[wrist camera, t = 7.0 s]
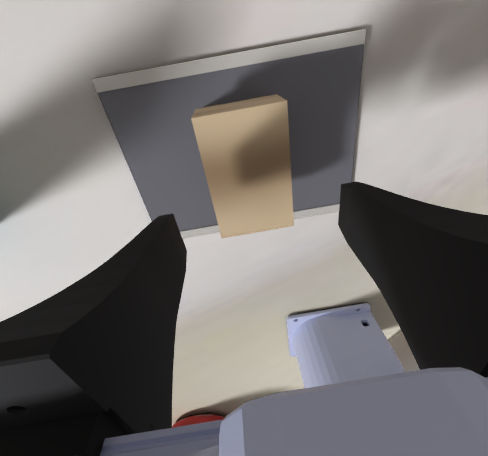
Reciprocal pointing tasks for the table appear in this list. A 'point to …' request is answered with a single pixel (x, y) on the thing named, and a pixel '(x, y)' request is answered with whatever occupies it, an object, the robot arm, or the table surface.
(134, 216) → the table surface
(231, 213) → the stool
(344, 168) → the mat
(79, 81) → the table surface
